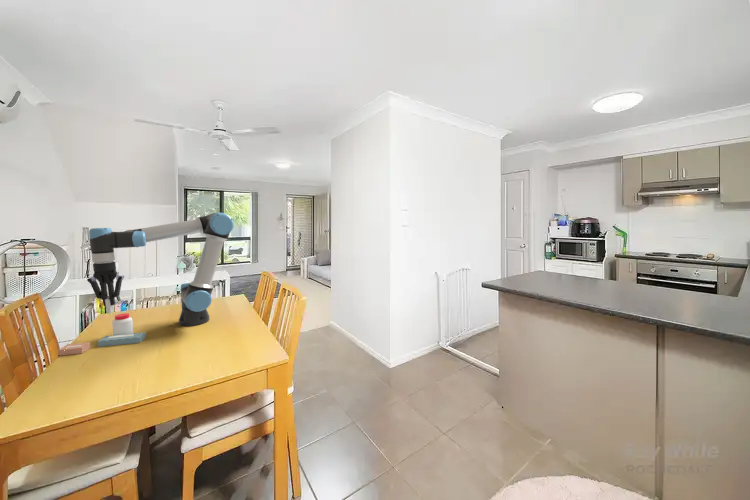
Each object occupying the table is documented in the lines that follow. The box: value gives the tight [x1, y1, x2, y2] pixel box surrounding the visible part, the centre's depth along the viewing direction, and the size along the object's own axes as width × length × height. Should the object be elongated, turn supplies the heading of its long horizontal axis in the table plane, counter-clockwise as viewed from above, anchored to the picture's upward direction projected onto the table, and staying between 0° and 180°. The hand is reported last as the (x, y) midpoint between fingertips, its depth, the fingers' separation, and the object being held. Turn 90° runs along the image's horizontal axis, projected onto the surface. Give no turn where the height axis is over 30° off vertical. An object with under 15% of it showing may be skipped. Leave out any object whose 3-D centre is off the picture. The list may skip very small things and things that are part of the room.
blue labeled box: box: [97, 331, 147, 348], centre depth 140 cm, size 16×7×3 cm, turn 109°
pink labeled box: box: [57, 342, 91, 356], centre depth 129 cm, size 8×6×3 cm
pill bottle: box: [111, 312, 134, 335], centre depth 147 cm, size 8×8×11 cm
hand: (110, 312), depth 135 cm, fingers closed
